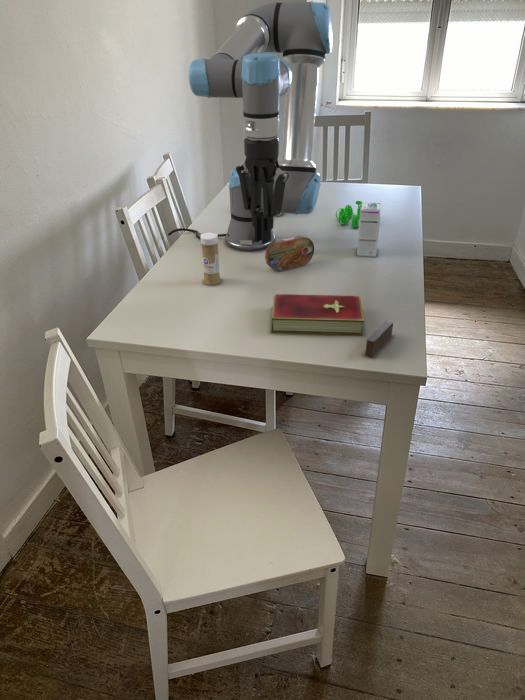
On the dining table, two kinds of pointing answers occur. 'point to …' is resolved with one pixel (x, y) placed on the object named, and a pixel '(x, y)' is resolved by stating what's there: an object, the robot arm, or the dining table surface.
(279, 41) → the robot arm
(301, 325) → the hardcover book
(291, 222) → the dining table surface
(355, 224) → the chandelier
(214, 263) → the sprinkles bottle
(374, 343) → the bar
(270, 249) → the tin
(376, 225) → the syrup box
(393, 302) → the dining table surface
